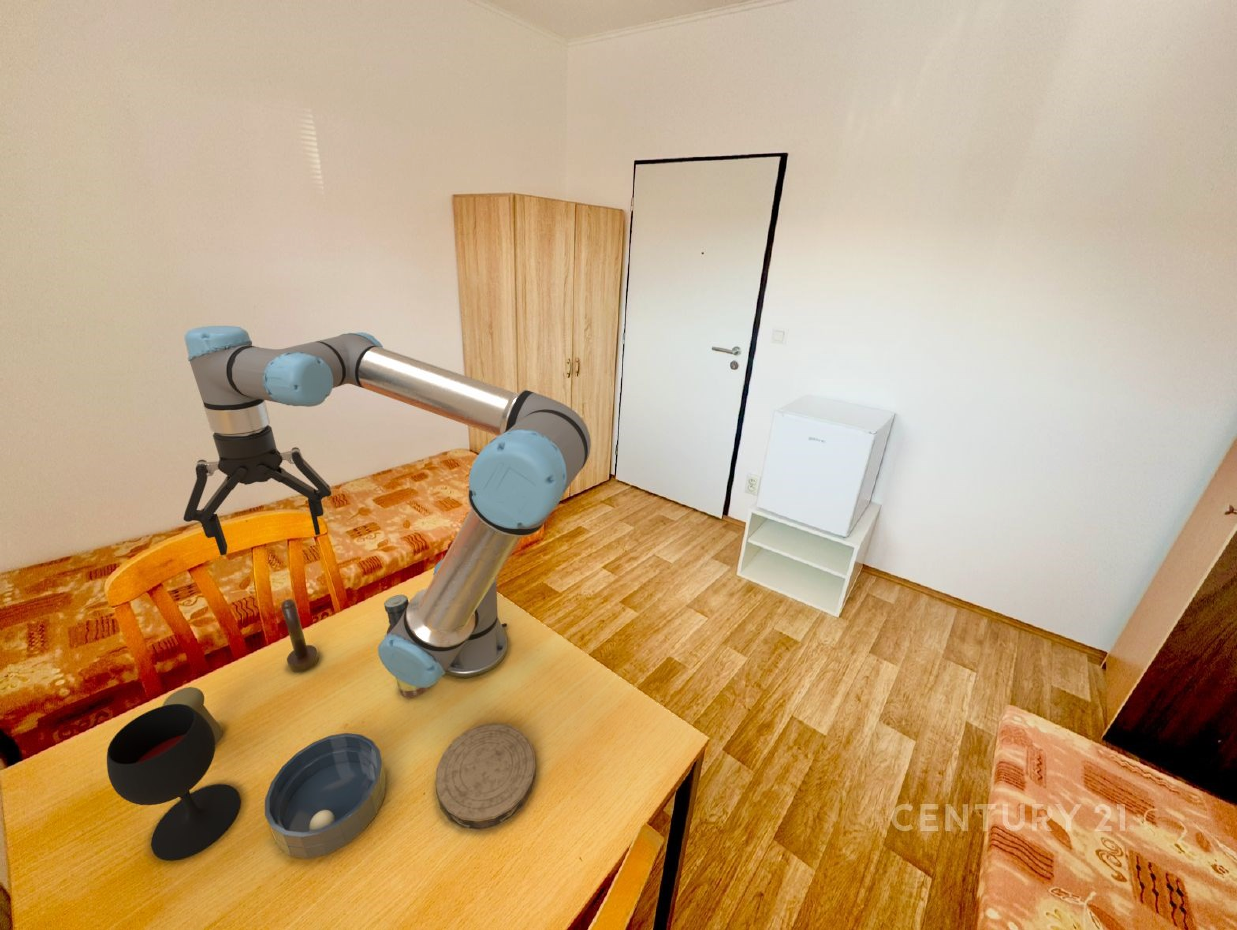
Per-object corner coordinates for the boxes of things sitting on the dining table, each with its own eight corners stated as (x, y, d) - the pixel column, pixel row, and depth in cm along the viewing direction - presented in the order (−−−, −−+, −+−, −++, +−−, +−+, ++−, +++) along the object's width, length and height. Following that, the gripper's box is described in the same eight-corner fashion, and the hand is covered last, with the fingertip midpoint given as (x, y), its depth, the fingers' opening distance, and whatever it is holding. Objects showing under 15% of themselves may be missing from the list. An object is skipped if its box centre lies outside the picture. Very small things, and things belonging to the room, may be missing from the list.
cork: (197, 762, 80) (176, 717, 75) (167, 753, 81) (144, 708, 76) (231, 729, 85) (213, 685, 81) (202, 721, 86) (183, 677, 82)
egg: (333, 814, 74) (332, 838, 72) (309, 819, 73) (306, 844, 70) (336, 803, 73) (334, 827, 70) (311, 808, 71) (308, 832, 69)
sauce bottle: (424, 699, 93) (401, 613, 86) (393, 699, 93) (368, 613, 86) (439, 673, 99) (419, 591, 92) (410, 673, 99) (387, 591, 93)
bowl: (377, 741, 86) (373, 718, 83) (394, 823, 74) (389, 799, 72) (273, 785, 78) (265, 761, 75) (274, 884, 66) (264, 860, 64)
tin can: (487, 854, 72) (486, 842, 70) (415, 791, 79) (413, 779, 77) (554, 765, 84) (554, 754, 83) (487, 718, 91) (486, 707, 90)
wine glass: (228, 771, 79) (191, 685, 70) (251, 818, 73) (214, 730, 65) (143, 823, 72) (90, 734, 63) (161, 880, 66) (105, 790, 57)
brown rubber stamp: (322, 651, 102) (307, 590, 95) (313, 671, 97) (296, 609, 90) (295, 653, 101) (277, 592, 94) (284, 673, 96) (265, 611, 89)
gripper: (330, 411, 86) (349, 514, 95) (139, 430, 73) (183, 547, 82) (335, 426, 80) (354, 533, 89) (129, 449, 67) (177, 572, 76)
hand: (272, 540), depth 85 cm, fingers open, 13 cm apart
